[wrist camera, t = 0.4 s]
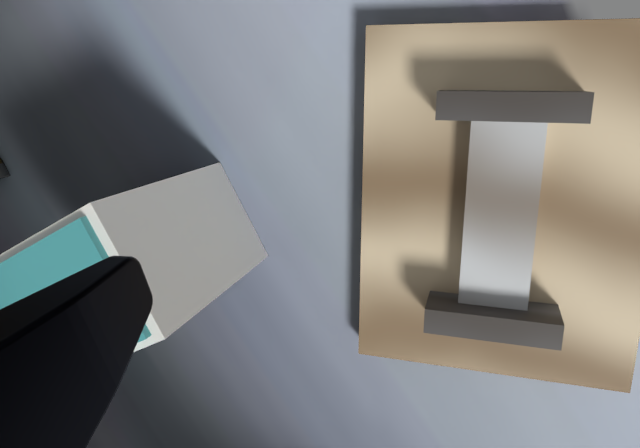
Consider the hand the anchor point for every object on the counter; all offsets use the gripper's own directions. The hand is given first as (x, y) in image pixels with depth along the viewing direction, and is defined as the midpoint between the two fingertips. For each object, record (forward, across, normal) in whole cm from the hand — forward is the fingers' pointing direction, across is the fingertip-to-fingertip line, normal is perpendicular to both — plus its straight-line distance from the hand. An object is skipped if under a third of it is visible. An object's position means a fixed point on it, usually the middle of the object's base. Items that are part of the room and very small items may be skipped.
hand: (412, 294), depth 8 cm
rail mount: (+14, -2, +7) cm, 16 cm away
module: (+14, +13, +9) cm, 21 cm away
